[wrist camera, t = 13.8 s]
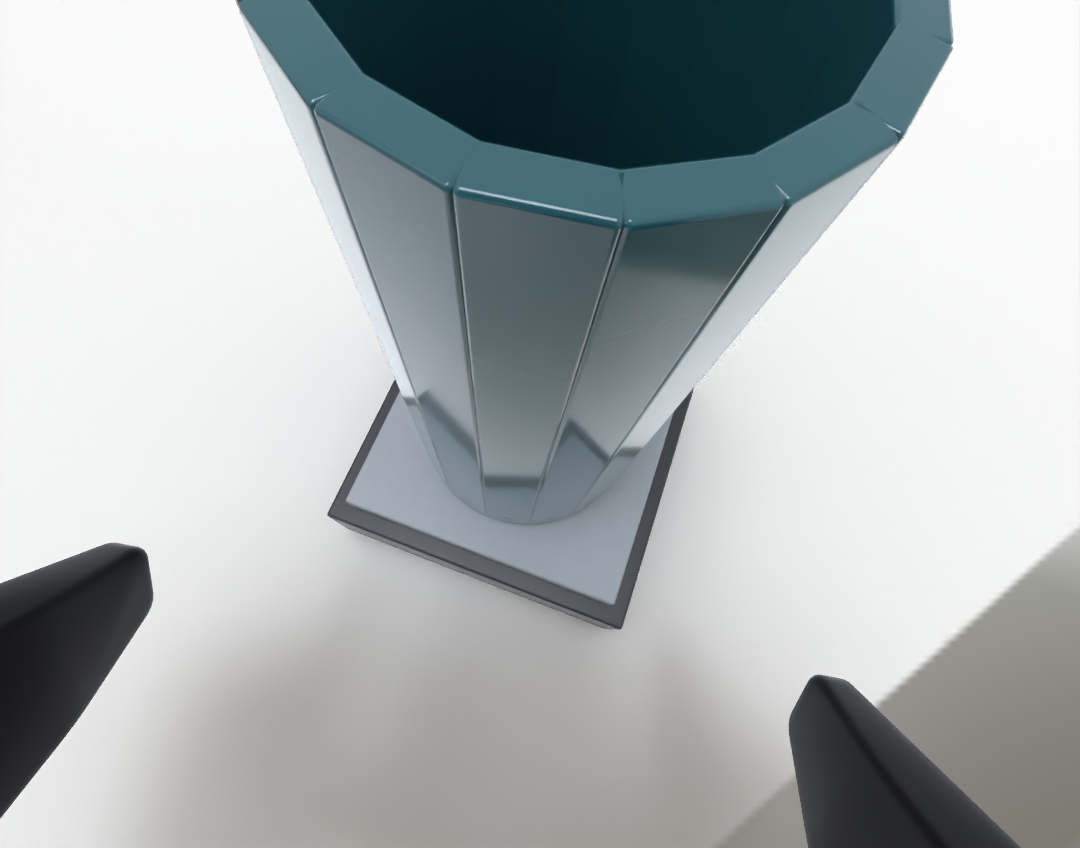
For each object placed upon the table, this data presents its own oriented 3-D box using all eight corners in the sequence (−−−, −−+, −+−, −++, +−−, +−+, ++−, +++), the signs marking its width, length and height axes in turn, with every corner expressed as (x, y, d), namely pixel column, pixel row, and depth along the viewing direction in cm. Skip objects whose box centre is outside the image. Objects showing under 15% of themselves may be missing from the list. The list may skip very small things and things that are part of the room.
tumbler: (558, 567, 16) (768, 381, 4) (383, 449, 16) (53, -47, 4) (662, 400, 18) (1038, -103, 5) (501, 301, 18) (509, -341, 6)
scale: (606, 629, 18) (626, 630, 15) (346, 527, 19) (319, 511, 16) (681, 386, 21) (709, 350, 18) (455, 304, 22) (448, 256, 19)
